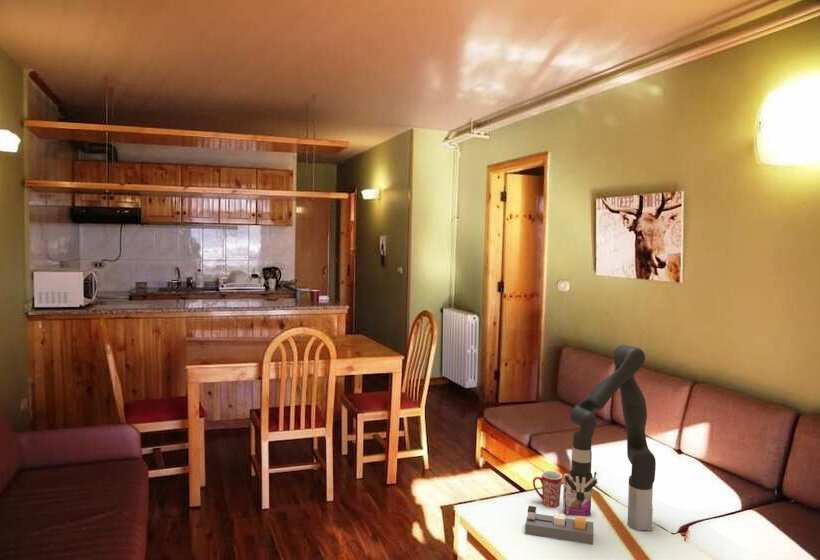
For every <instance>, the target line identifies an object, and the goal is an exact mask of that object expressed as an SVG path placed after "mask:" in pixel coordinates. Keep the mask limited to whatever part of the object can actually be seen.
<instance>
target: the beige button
mask: <svg viewBox="0 0 820 560" xmlns="http://www.w3.org/2000/svg"><path fill="white" fill-rule="evenodd" d="M553 514H554V515H553V516H554V525H557V526H563V527H565V518H566V514H564V513H557V512H555V513H553Z"/></svg>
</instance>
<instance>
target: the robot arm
mask: <svg viewBox="0 0 820 560" xmlns="http://www.w3.org/2000/svg"><path fill="white" fill-rule="evenodd" d="M645 361H646V355H645V352H644V351H643V350H642V349H641V348H639V347H636V346H630V345H624V344H621V345H618V346H617V347H616V348H615V349H614V351H613V363H614V367H615V371H614V372H613V373H611V374H610V375H609V376H607V377H606V378H604V379H603V380H600V382H599V383H598V384H596V386H595V387H594V388H593V389H592V390H591V392H590V393H589V394H588V395H587V396H586V397H585V398H584V399H582V400H581V401H579V402H578V403H577V404H576V405H574V407H573V408H572V409H571V411H570V414H569V418H570V421H571V422H572V423H573V424H575V425H576V426H579V427H580V429H579V430H577V431H574V433H573V435H572V437H573V438H572V450H571V467H570V468H571V469H570V470H569V473H565V474H566V475H565V480H566V481H567V483H568V484H569V485H570V487H571V488H572V490H576V492H577V496H576V498H577V499H578V501H582V500H584V492H589V491H590V490H591V491H592V490H593V488H594V487H595V486H596V485H597V484H598V479H597V478H595V477H594V476H593V473H592V459H593V458H592V456H593V455H592V439H593V436H594V433H595V429H596V426H597V416H596V415H595V413H594V412H593V411H600V410H602V409H603V408H604V407H605V406H606V404H607V403H608V402H609V401H610V399H611V398H612V397H613V395H615V393H616V392H617V391H618V390H619V392H620V398H621V408H622V415H623V421H624V426H625V430H626V446H627V447H626V452H627V453H626V454H627V459H628V461H629V463H630V464H631V473H630V476H629V477H628V489H627V490H628V491H627V492H628V493H627V494H628V495H627V497H628V498H627V499H628V500H627V525H628V526H629V527H630V528H631V527H632V528H631V529H633V528H634V529H633V530H637V531H640V530H641V531H642V530H647V531H649V530H648V529H652V530H653V515H654V514H653V510H654V509H653V508H654V507H653V497H654V496H653V491H654V489H653V488H654V483H655V480H656V479H655V478H656V467H657V466H656V464H657V463H656V457H655V455H654V454H653V452H652V451H651V450H650V449H649V445H648V443H647V438H646V425H647V421H648V410H647V404H646V403H647V402H646V399H645V396H644V394H643V392H642V390H641V388H640V386H639V384H638V382H637V380H636V377H635V374H636V373H637V372H638V371H639V370H640V369H641V368H642V367H643V366H644V364H645ZM567 474H568V475H567ZM571 477H572V478H573V480H574V481H575V482H576V486H575V484H574V483H573V482H572V480H571ZM590 479H591V483H590V484H589V485H588V486H587V487H585V484H586V483H588V481H589V480H590ZM580 483H581V484H582V486H581V492H580ZM642 532H643V531H642Z"/></svg>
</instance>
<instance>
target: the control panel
mask: <svg viewBox="0 0 820 560" xmlns="http://www.w3.org/2000/svg"><path fill="white" fill-rule="evenodd" d="M574 523H575V518H568V517H565V527H563V526H557V525H554V515H547V514H540V513H536V518H535V520H531V519H528V515H527V516H526V520H525V524H524V525H525V527H524V534H525V535H526V534H527V535H533V536H538V537H545V538H552V539H555V540H556V539H558V540H564V541H568V542H576V543H582V544H587V545H588V544H590V545H594V544H593V543H594V522H593V521H588V520H586V529H585V530H582V529H576V528H574Z"/></svg>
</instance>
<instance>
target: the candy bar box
mask: <svg viewBox="0 0 820 560" xmlns="http://www.w3.org/2000/svg"><path fill="white" fill-rule="evenodd" d="M566 474H567V475H568V474H569V473H564V474H563V496H562V510H563V514H565V515H568V516H569V515H572V516H588V517H589V516H590V517H591V511H592V509H591V508H592V506H591V505H592V489H591V490H590V491H589V492H584V500H582V501H578V499H577V498H576V496H577V492H576V490H572V488H571V487H570V485H569V484H568V483H567V481H566V480H565V475H566ZM571 480H572V482H573V483H574V484H575V486H576V482H575V481H574V480H573V478H572V477H571ZM590 483H591V479H590V480H589V481H588V483H586V484H585V487H587V486H588V485H589V484H590ZM581 486H582V484H581V483H580V492H581Z"/></svg>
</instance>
